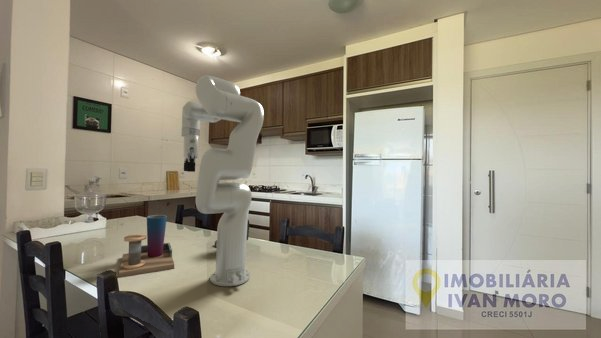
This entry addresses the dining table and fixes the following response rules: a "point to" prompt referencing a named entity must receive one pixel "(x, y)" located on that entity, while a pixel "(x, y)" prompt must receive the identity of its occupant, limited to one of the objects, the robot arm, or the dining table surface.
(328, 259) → the dining table surface
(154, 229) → the cup
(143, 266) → the board
